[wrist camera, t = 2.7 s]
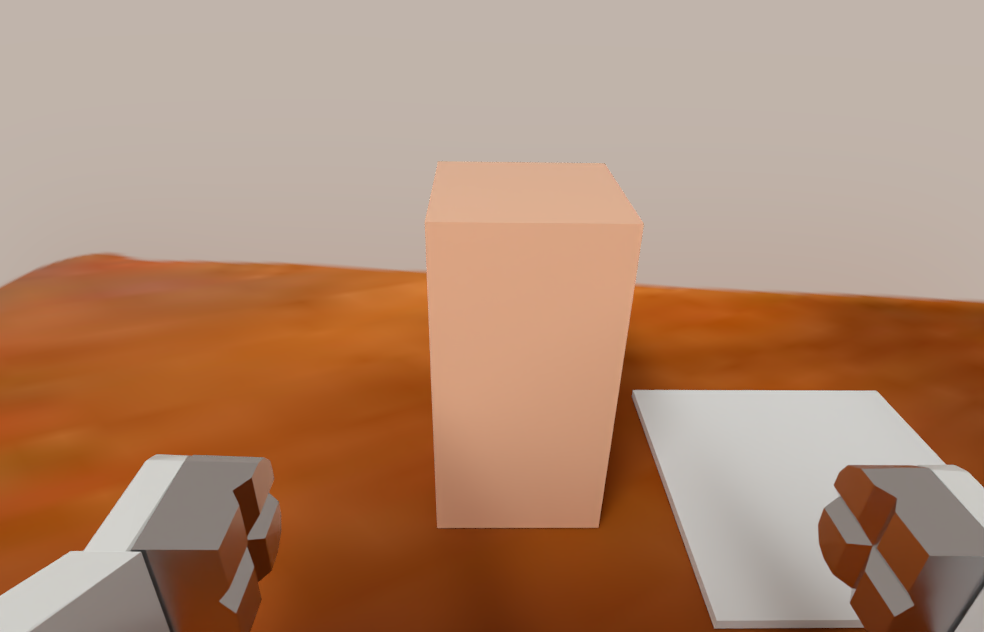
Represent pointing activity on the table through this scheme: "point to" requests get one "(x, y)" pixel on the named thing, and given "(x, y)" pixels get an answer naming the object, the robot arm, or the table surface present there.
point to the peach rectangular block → (526, 338)
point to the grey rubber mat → (767, 491)
